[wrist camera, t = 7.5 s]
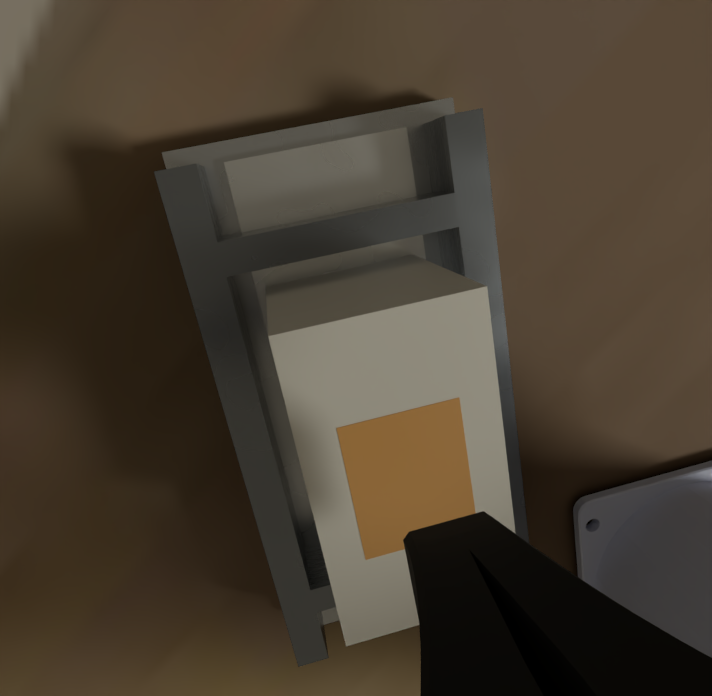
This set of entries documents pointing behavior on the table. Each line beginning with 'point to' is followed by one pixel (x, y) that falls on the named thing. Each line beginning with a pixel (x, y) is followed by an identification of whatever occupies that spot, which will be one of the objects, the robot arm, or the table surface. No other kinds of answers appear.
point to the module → (389, 420)
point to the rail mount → (316, 257)
